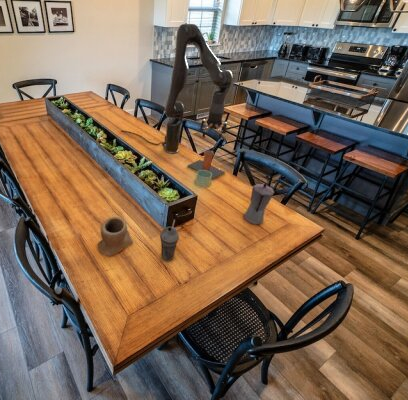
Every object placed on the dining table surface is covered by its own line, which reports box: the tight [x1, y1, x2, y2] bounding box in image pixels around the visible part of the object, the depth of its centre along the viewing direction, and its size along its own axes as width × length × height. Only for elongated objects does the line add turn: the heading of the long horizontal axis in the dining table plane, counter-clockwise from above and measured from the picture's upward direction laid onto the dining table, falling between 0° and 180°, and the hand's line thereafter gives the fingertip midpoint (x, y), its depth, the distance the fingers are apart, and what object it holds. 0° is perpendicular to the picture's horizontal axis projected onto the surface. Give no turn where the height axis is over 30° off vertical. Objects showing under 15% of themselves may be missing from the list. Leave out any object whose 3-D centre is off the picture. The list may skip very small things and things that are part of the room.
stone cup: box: [96, 216, 133, 257], centre depth 108 cm, size 15×12×15 cm
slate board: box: [187, 159, 226, 181], centre depth 167 cm, size 20×12×2 cm, turn 44°
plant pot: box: [202, 149, 215, 171], centre depth 163 cm, size 6×6×11 cm
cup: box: [194, 170, 212, 188], centre depth 154 cm, size 9×9×6 cm
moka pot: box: [243, 183, 275, 225], centre depth 126 cm, size 10×15×20 cm, turn 161°
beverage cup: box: [159, 219, 180, 262], centre depth 104 cm, size 7×7×20 cm
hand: (211, 138), depth 155 cm, fingers open, 8 cm apart
